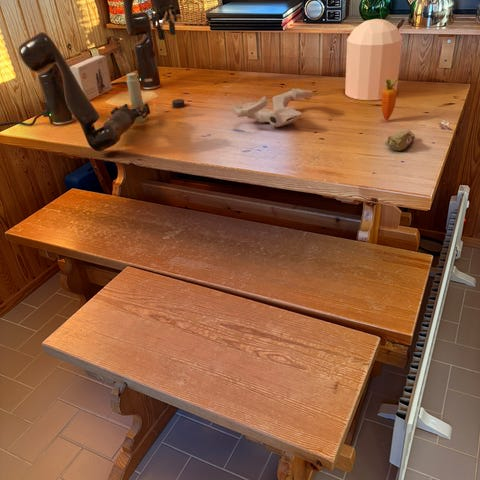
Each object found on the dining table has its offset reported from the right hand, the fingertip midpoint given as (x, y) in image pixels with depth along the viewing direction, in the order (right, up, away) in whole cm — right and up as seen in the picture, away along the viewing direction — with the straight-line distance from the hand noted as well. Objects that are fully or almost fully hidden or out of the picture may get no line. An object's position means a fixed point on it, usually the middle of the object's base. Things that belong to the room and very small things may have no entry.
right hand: (167, 37), depth 183 cm
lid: (+2, -21, +15) cm, 26 cm away
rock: (+80, -50, -35) cm, 101 cm away
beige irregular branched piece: (+43, -38, -11) cm, 59 cm away
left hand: (-12, -27, +1) cm, 30 cm away
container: (+83, -19, +10) cm, 86 cm away
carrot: (+81, -38, -17) cm, 91 cm away
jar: (-12, -32, +5) cm, 34 cm away
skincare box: (-41, -11, +40) cm, 58 cm away
